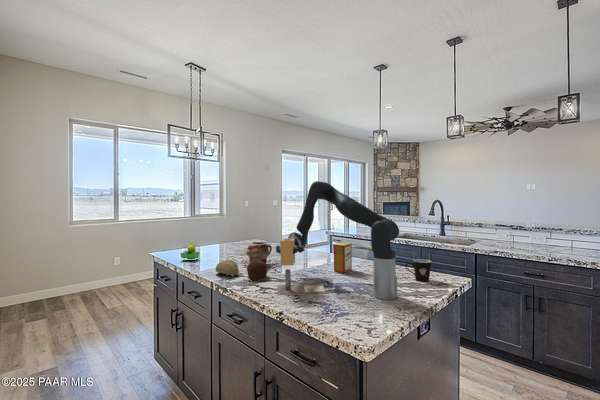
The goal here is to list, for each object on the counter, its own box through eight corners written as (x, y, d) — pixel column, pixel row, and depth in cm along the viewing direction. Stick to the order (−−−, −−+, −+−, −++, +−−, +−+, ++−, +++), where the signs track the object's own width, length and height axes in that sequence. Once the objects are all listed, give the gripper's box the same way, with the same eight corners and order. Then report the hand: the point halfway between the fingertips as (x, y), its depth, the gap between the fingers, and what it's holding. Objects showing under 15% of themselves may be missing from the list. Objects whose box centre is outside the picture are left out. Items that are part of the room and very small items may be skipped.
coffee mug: (433, 279, 157) (433, 260, 157) (427, 283, 151) (427, 263, 151) (411, 275, 165) (411, 257, 165) (404, 279, 159) (404, 260, 159)
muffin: (242, 279, 161) (241, 261, 160) (258, 275, 169) (258, 257, 168) (256, 284, 152) (256, 264, 152) (273, 279, 161) (272, 260, 160)
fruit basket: (179, 261, 207) (179, 244, 207) (186, 258, 216) (186, 242, 215) (195, 261, 205) (194, 244, 205) (201, 258, 214) (201, 242, 214)
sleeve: (283, 262, 142) (282, 238, 142) (294, 262, 141) (294, 238, 141) (280, 265, 136) (280, 240, 136) (293, 265, 136) (292, 240, 135)
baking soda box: (341, 268, 183) (341, 241, 183) (351, 269, 180) (351, 242, 179) (334, 271, 176) (333, 244, 175) (344, 273, 172) (344, 245, 171)
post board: (323, 287, 147) (323, 265, 147) (327, 297, 133) (326, 273, 133) (277, 288, 146) (277, 266, 146) (276, 298, 132) (276, 274, 132)
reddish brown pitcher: (264, 260, 207) (264, 239, 207) (277, 262, 199) (277, 241, 199) (241, 265, 192) (241, 243, 191) (254, 268, 184) (254, 245, 184)
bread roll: (223, 271, 180) (223, 257, 179) (243, 274, 172) (243, 260, 172) (211, 274, 171) (211, 260, 171) (231, 278, 164) (230, 263, 164)
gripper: (278, 237, 154) (270, 243, 137) (306, 237, 152) (302, 243, 135) (278, 252, 154) (271, 259, 137) (307, 252, 152) (302, 260, 135)
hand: (286, 251), depth 136 cm, fingers closed on sleeve, 5 cm apart
